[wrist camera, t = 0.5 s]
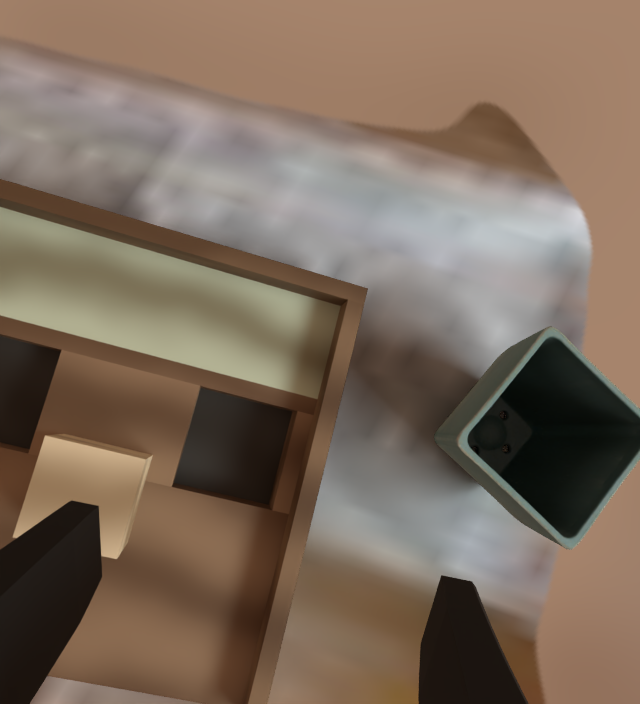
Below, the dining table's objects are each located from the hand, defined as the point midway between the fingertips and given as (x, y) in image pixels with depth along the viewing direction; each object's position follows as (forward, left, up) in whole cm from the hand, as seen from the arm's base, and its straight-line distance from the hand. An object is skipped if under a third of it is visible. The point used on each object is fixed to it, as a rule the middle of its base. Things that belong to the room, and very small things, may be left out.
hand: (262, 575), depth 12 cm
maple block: (-5, +6, -23) cm, 24 cm away
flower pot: (+12, -13, -26) cm, 31 cm away
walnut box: (-3, +6, -25) cm, 26 cm away
